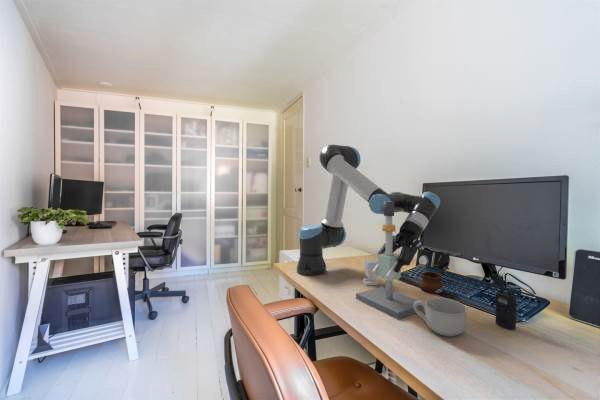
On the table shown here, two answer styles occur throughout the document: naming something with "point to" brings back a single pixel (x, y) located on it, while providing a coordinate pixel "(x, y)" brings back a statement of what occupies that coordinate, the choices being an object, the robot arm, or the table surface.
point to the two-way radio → (505, 307)
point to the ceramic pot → (431, 282)
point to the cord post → (386, 297)
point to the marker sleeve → (387, 265)
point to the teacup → (443, 315)
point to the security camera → (370, 272)
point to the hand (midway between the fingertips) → (381, 275)
